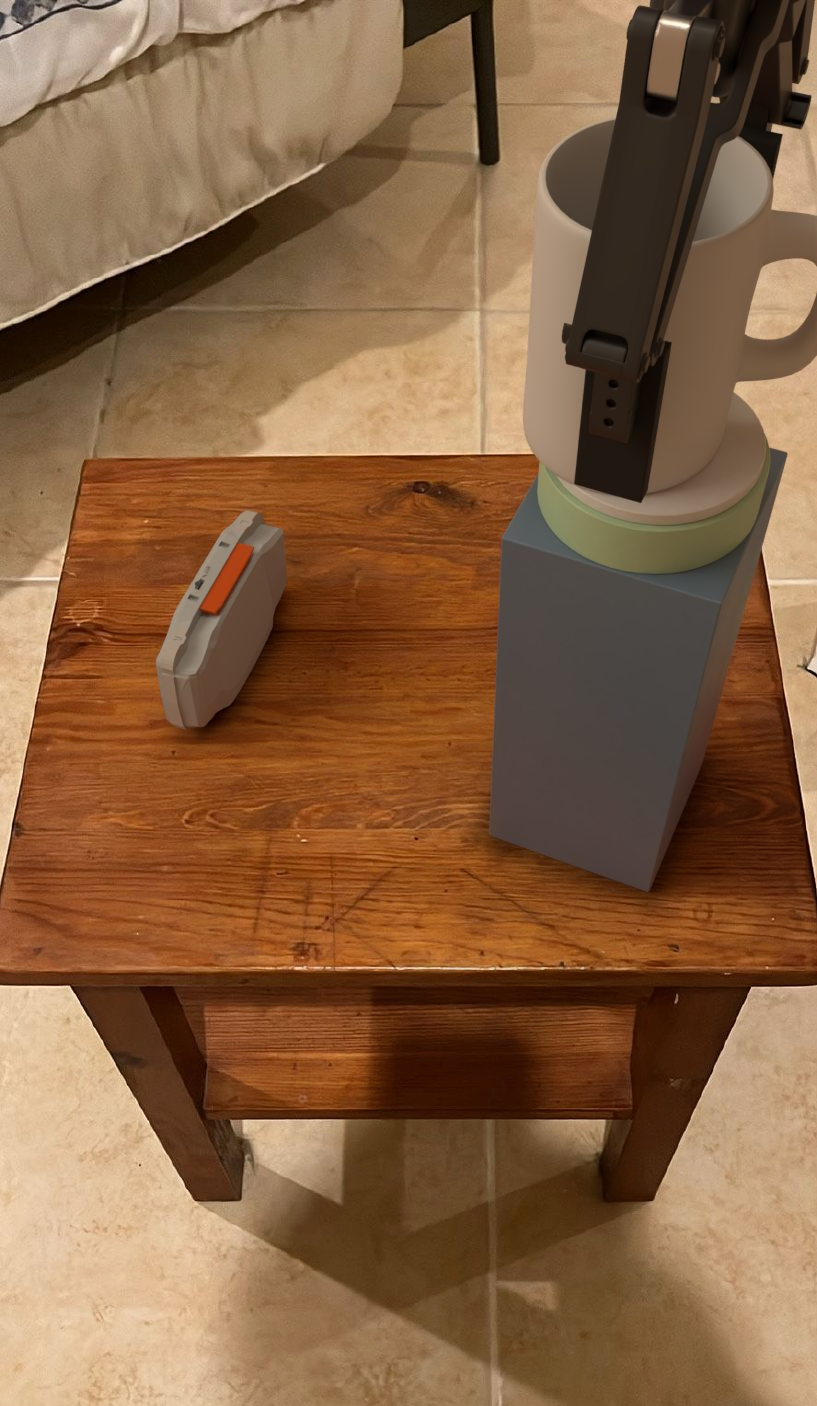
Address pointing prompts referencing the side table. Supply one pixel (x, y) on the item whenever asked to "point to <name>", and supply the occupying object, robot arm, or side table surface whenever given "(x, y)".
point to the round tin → (668, 508)
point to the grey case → (222, 622)
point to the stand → (608, 693)
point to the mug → (703, 314)
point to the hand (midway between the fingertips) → (666, 380)
